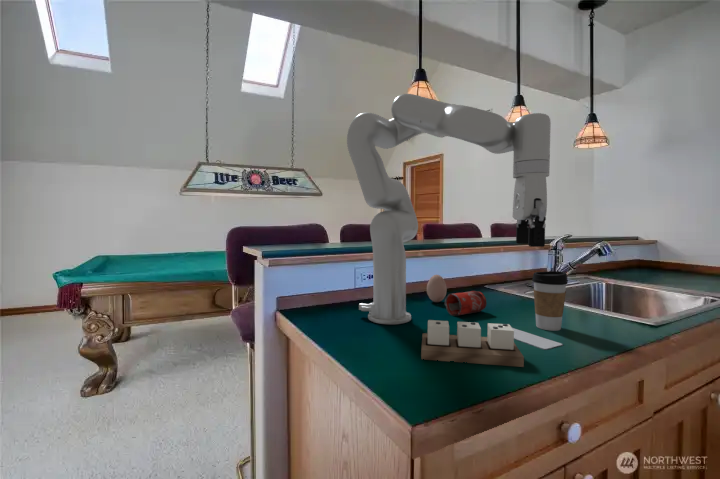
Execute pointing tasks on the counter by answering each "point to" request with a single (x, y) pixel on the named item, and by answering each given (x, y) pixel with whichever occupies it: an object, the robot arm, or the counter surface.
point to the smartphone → (535, 340)
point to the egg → (436, 288)
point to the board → (471, 353)
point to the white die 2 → (468, 334)
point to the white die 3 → (500, 336)
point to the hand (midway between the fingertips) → (529, 244)
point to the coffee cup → (549, 298)
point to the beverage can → (465, 303)
